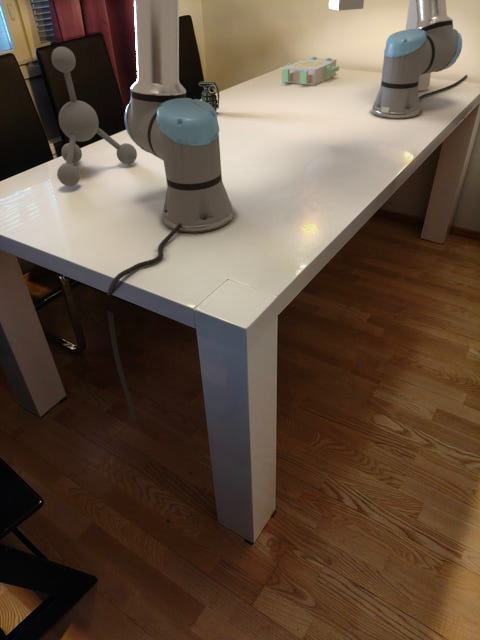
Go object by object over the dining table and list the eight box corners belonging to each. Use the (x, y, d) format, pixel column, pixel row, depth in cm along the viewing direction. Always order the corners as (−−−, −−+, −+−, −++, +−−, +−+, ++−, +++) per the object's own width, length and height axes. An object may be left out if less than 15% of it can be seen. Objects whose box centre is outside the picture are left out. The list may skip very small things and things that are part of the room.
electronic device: (399, 93, 181) (413, -3, 163) (389, 89, 187) (401, -5, 168) (429, 89, 183) (446, -6, 165) (418, 85, 189) (433, -8, 171)
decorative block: (304, 55, 215) (345, 58, 206) (303, 71, 219) (344, 74, 210) (272, 66, 199) (316, 70, 190) (273, 83, 203) (315, 88, 194)
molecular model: (148, 176, 128) (126, 47, 109) (62, 192, 122) (23, 59, 103) (130, 150, 145) (108, 34, 127) (54, 163, 139) (20, 44, 121)
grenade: (199, 115, 171) (196, 84, 165) (204, 110, 175) (201, 80, 169) (217, 115, 170) (215, 84, 164) (221, 111, 174) (219, 80, 168)
